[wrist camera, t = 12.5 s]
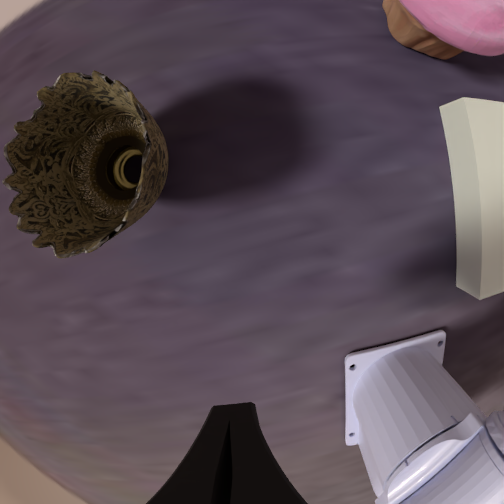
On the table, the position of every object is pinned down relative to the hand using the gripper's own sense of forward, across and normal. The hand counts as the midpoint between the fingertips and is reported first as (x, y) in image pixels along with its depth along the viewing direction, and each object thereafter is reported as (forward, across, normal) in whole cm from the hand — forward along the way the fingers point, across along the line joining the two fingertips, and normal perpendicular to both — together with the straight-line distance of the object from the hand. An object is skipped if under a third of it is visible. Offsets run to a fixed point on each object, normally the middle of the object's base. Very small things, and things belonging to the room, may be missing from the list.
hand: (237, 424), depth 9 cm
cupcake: (+10, -15, -18) cm, 25 cm away
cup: (+11, +5, -9) cm, 15 cm away
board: (+9, -23, -5) cm, 25 cm away
